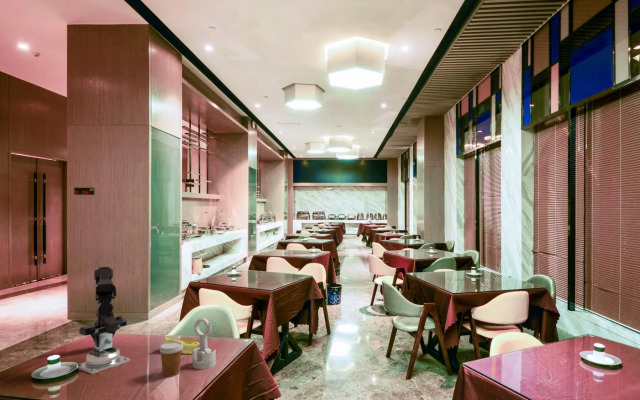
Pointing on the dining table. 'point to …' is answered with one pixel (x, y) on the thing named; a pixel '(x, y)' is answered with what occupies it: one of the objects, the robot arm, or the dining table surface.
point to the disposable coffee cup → (171, 358)
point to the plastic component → (185, 344)
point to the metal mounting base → (102, 360)
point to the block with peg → (105, 341)
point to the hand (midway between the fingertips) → (103, 345)
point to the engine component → (203, 348)
